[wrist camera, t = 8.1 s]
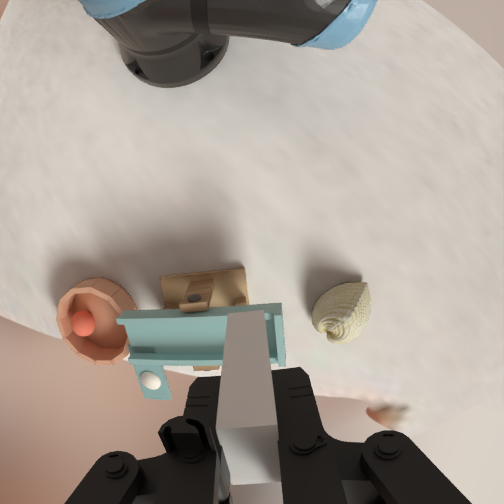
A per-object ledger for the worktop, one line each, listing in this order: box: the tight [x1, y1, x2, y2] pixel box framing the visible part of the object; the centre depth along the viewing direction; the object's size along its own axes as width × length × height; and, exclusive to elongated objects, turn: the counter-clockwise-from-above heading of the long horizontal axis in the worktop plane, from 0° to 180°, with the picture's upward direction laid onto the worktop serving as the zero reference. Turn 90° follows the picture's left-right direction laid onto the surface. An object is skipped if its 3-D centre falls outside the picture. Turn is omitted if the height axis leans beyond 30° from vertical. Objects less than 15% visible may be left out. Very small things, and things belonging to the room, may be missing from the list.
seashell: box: [312, 282, 371, 344], centre depth 44 cm, size 8×8×8 cm
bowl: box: [56, 278, 138, 365], centre depth 44 cm, size 13×13×4 cm
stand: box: [160, 268, 249, 371], centre depth 41 cm, size 11×12×9 cm
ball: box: [71, 311, 95, 336], centre depth 43 cm, size 4×4×4 cm
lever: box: [116, 303, 286, 400], centre depth 38 cm, size 14×20×3 cm
